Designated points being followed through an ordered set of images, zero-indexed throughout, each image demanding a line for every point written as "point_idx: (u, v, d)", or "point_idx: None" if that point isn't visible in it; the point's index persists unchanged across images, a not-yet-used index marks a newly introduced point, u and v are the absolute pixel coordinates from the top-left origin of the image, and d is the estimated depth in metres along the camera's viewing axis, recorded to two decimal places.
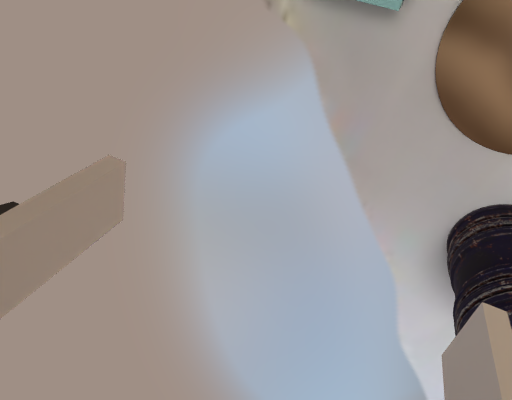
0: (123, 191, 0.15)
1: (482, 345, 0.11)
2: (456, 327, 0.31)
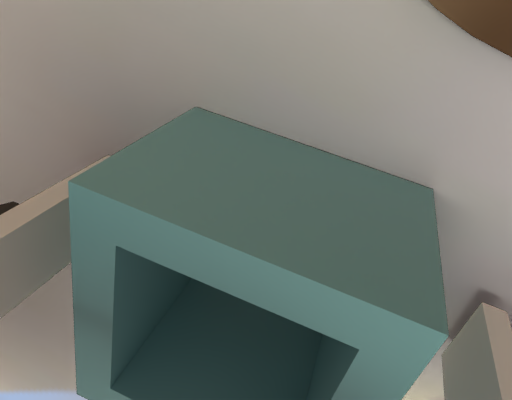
0: None
1: (482, 345, 0.11)
2: None
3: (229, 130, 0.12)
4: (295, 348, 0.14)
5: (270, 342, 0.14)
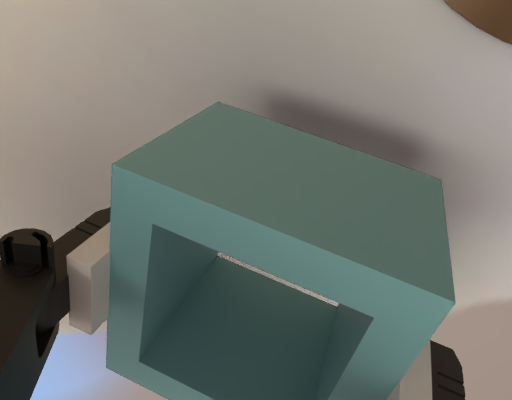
0: None
1: None
2: None
3: (251, 123, 0.13)
4: (309, 330, 0.15)
5: (285, 324, 0.15)
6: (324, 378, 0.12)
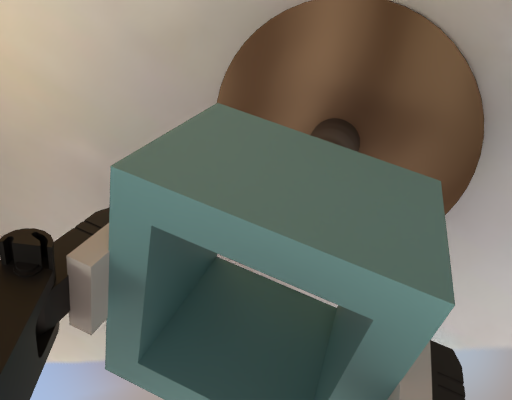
0: None
1: None
2: None
3: (250, 124, 0.13)
4: (309, 331, 0.15)
5: (285, 326, 0.15)
6: (323, 380, 0.12)
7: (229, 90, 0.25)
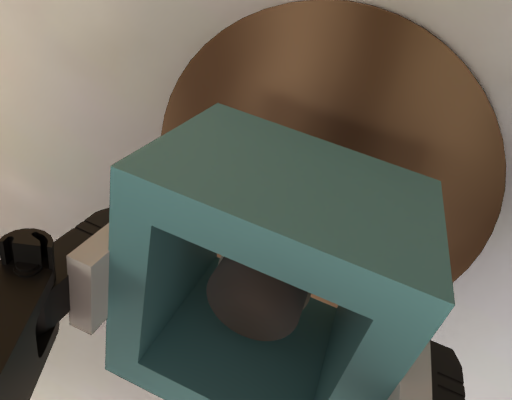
0: None
1: None
2: None
3: (250, 124, 0.13)
4: (308, 331, 0.15)
5: None
6: (323, 380, 0.12)
7: (175, 120, 0.20)
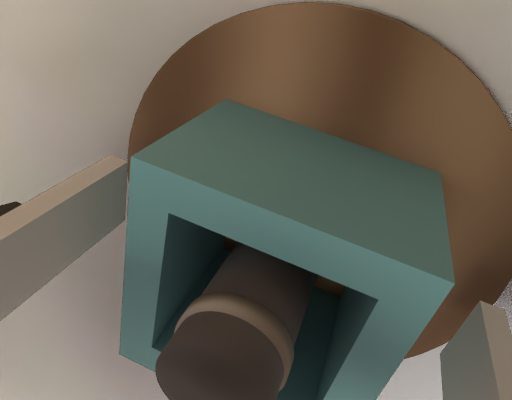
0: (125, 191, 0.15)
1: (480, 343, 0.11)
2: None
3: (258, 119, 0.14)
4: (313, 319, 0.16)
5: None
6: (329, 362, 0.13)
7: (142, 140, 0.17)
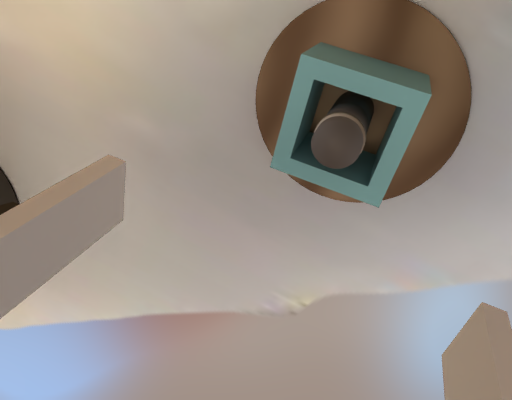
0: (123, 191, 0.15)
1: (482, 345, 0.11)
2: None
3: (340, 50, 0.28)
4: (363, 159, 0.30)
5: None
6: (376, 164, 0.27)
7: (269, 68, 0.31)
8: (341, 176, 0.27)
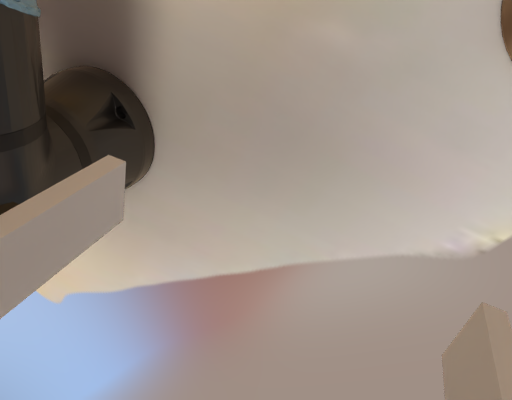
0: (123, 190, 0.15)
1: (482, 345, 0.11)
2: None
3: None
4: None
5: None
6: None
7: None
8: None
